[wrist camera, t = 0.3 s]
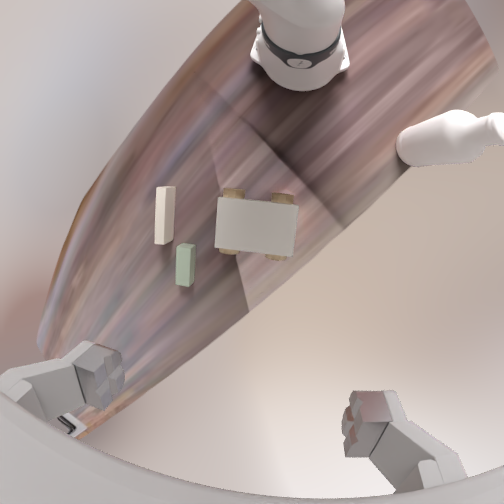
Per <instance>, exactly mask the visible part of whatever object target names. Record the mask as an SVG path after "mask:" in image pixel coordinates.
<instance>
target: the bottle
mask: <svg viewBox="0 0 504 504" xmlns="http://www.w3.org/2000/svg"><path fill="white" fill-rule="evenodd" d="M490 145H499V146H503V145H504V113H491V114H490V115H488V116H485V117H481V118H476V117H475V116H474V115H473V114H470V113H468V112H465V111H462V110H451V111H449V112H446V113H444V114H441V115H439V116H436V117H434V118H431V119H429V120H426V121H424V122H422V123H419V124H417V125H414V126H411V127H408V128H407V129H405V130H403V131H402V132H400V134H399V135H398V137H397V140H396V150H397V153H398V155H399V157H400V158H401V160H402V161H403V162H404V163H406V164H407V165H410V166H414V167H420V166H428V165H444V164H461V163H471V162H472V161H474V160H475V159H477V158H478V157H479V156H480V155H482V153H483V151H484V149H485V146H490Z"/></svg>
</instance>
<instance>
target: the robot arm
mask: <svg viewBox="0 0 504 504" xmlns="http://www.w3.org/2000/svg"><path fill="white" fill-rule="evenodd" d="M248 1H249V2H251V3H252V4H253V5H254V6H255V7H256V8H257V9H258V10H259V13H260V17H259V22H260V23H261V26H260V28H258V29H257V37H256V39H255V42H254V45H253V47H252V50H251V53H250V56H251V59H252V60H253V61H255V62H256V63H258V64H259V65H261V66H262V67H263V68H264V70H265V71H266V73H267V74H268V76H269V77H270V78H271V79H272V80H273V81H274V82H276V83H277V84H279V85H281V86H283V87H285V88H287V89H291V90H295V91H310V90H315V89H318V88H320V87H322V86H324V85H326V84H327V83H328V82H329V81H330V80H331V79H332V78H333V77H334V76H335V75H336V74H338V73H340V72H343V71H345V70H347V69H348V68H349V65H350V62H349V57H348V53H347V48H346V44H345V40H344V35H343V31H342V27H341V23H342V19H343V16H344V12H345V2H344V0H248ZM256 50H257V51H256ZM343 58H344V60H343ZM121 362H122V357H121V353H120V352H119V351H117V350H114V349H111V348H108V347H105V346H102V345H100V344H96V343H94V342H91V341H88V340H85V341H83V342H81V343H80V344H79V345H78V346H76V347H75V348H74V349H73V350H72V351H70V352H69V353H68V354H67V355H66V356H64V357H63V358H62V359H59V358H57V359H53V360H48V361H44V362H40V363H35V364H31V365H26V366H21V367H16V368H12V369H8V370H7V371H6V372H4V373H3V374H2V375H1V376H0V504H504V465H503V466H501V467H498V468H495V469H493V470H490V471H487V472H484V473H481V474H479V475H476V476H472V477H469V478H468V477H467V474H466V472H465V469H464V467H463V465H462V462H461V460H460V458H459V455H458V453H456V452H455V451H454V450H452V449H451V448H449V447H448V446H446V445H445V444H444V443H442V442H441V441H439V440H438V439H436V438H435V437H433V436H432V435H430V434H429V433H428V432H426V431H425V430H424V429H422V428H421V427H419V426H418V425H417V424H415V423H414V422H413V421H408V420H407V418H406V415H405V412H404V410H403V408H402V405H401V403H400V400H399V398H398V395H397V393H396V391H394V390H387V391H353V392H352V393H351V396H350V398H349V401H350V406H348V407H347V408H346V409H345V412H344V414H343V419H342V434H343V435H344V436H345V437H346V439H345V441H344V451H345V457H369V459H370V460H371V461H372V463H373V464H374V465H375V466H376V467H377V468H378V470H379V471H380V472H381V473H382V474H383V475H384V476H385V477H386V479H387V480H388V481H389V482H390V483H391V484H392V485H393V487H394V488H395V489H396V491H395V492H394V493H393V494H390V495H382V496H372V497H360V498H341V499H340V498H339V499H310V498H288V497H275V496H266V495H257V494H249V493H243V492H236V491H231V490H224V489H219V488H215V487H210V486H206V485H201V484H197V483H192V482H189V481H185V480H181V479H178V478H174V477H171V476H168V475H164V474H161V473H158V472H155V471H152V470H149V469H146V468H143V467H140V466H137V465H135V464H132V463H130V462H127V461H124V460H122V459H119V458H117V457H115V456H112V455H110V454H107V453H105V452H103V451H101V450H98V449H96V448H94V447H92V446H90V445H88V444H86V443H84V442H82V441H80V440H78V439H76V438H74V437H72V436H70V435H68V434H66V433H64V432H63V431H61V430H59V429H57V428H55V427H54V426H52V425H50V424H49V423H48V421H50V420H52V419H54V418H57V417H59V416H61V415H64V414H66V413H68V412H70V411H73V410H75V409H77V408H79V407H81V406H84V405H85V403H86V404H88V405H91V406H93V407H96V408H98V409H101V410H103V411H105V409H106V408H107V407H108V406H109V404H110V403H111V402H112V401H113V398H112V395H114V394H117V393H119V392H120V390H121V389H122V387H123V384H124V380H125V374H124V370H123V368H122V367H121V366H120V363H121Z"/></svg>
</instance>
